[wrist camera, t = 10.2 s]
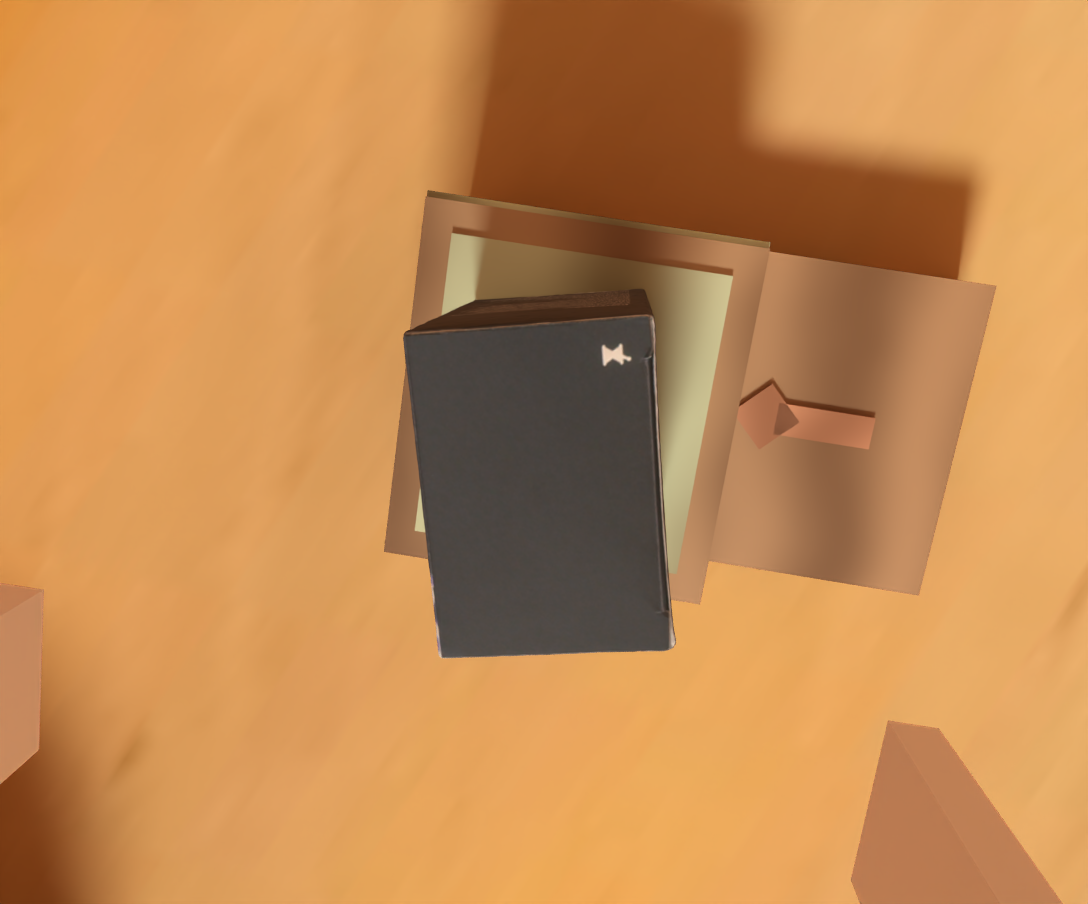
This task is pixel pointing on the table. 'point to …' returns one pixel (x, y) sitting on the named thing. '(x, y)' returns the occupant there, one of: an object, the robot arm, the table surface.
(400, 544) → the stand
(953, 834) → the robot arm
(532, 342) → the box
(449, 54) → the table surface
